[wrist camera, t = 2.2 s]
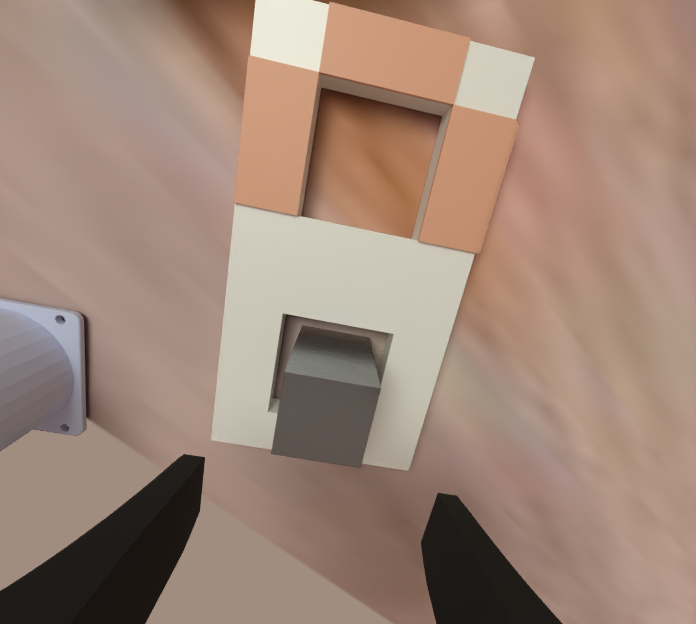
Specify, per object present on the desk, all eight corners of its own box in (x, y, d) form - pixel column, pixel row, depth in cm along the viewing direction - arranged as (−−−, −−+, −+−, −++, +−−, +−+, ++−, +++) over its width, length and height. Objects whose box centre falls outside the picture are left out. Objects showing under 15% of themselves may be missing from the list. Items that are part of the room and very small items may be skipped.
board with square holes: (220, 424, 20) (209, 442, 19) (265, 9, 15) (255, -18, 13) (408, 454, 21) (414, 474, 20) (522, 74, 15) (544, 57, 14)
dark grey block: (291, 385, 20) (270, 453, 14) (302, 325, 19) (284, 371, 13) (355, 396, 20) (360, 467, 14) (369, 337, 19) (381, 388, 13)
